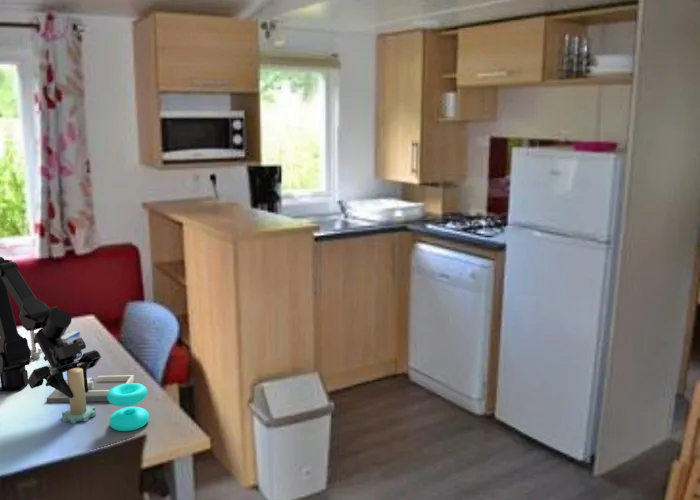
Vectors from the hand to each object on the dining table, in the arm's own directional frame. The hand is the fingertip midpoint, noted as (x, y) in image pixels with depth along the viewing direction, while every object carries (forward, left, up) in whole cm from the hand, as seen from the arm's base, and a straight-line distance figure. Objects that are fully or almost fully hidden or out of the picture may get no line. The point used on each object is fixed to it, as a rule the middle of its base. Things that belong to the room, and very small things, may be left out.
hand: (79, 394), depth 176 cm
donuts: (+14, -4, -7) cm, 16 cm away
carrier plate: (-3, +17, -7) cm, 18 cm away
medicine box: (-20, +44, -7) cm, 49 cm away
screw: (-32, +46, -7) cm, 56 cm away
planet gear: (-1, +1, -7) cm, 7 cm away
